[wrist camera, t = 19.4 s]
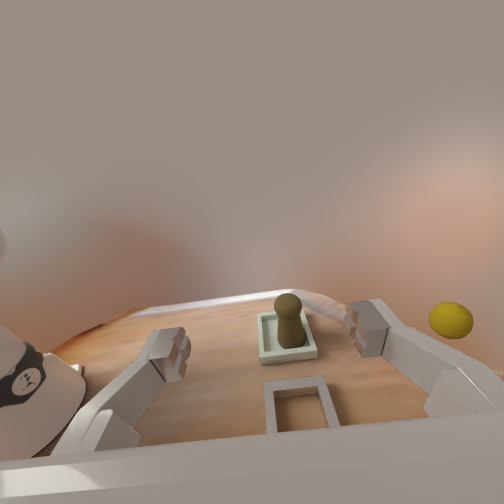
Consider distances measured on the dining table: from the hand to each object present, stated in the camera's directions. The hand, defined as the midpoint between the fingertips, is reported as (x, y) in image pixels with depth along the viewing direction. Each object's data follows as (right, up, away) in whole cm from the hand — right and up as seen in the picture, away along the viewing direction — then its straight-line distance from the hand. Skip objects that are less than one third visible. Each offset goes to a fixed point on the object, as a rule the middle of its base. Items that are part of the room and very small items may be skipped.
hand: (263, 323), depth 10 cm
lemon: (+36, -13, +28) cm, 47 cm away
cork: (+8, -15, +32) cm, 36 cm away
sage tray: (+7, -15, +33) cm, 37 cm away
